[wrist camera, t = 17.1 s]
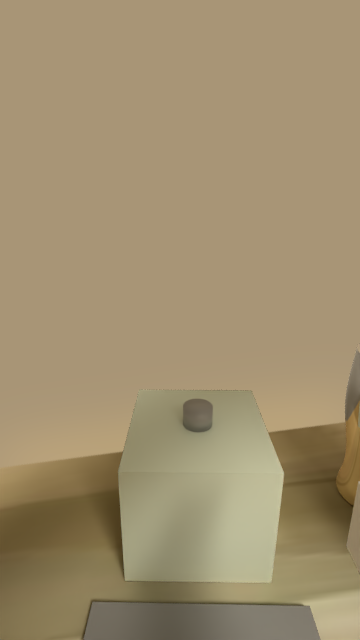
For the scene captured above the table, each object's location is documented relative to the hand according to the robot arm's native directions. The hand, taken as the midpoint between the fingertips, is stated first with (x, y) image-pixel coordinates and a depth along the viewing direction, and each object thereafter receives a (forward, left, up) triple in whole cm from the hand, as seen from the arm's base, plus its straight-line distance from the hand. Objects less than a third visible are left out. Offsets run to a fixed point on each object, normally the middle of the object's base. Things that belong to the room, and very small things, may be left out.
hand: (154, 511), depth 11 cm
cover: (+8, -13, -17) cm, 23 cm away
